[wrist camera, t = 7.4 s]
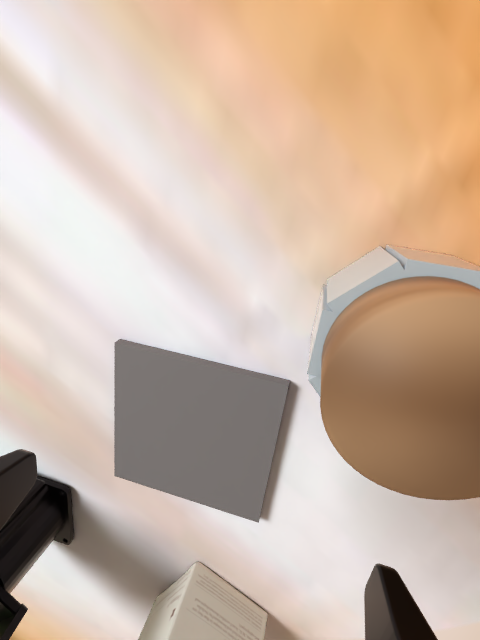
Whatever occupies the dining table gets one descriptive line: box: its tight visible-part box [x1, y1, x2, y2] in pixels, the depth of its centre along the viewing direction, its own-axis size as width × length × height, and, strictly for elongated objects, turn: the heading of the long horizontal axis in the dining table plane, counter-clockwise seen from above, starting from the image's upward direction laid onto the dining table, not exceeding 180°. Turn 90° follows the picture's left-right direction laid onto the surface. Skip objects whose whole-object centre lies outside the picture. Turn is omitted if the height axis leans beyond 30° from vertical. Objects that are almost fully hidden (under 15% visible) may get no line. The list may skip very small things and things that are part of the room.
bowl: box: [307, 245, 480, 397], centre depth 15 cm, size 8×8×4 cm
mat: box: [115, 339, 290, 523], centre depth 22 cm, size 11×11×1 cm
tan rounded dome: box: [320, 276, 480, 500], centre depth 12 cm, size 7×7×3 cm
